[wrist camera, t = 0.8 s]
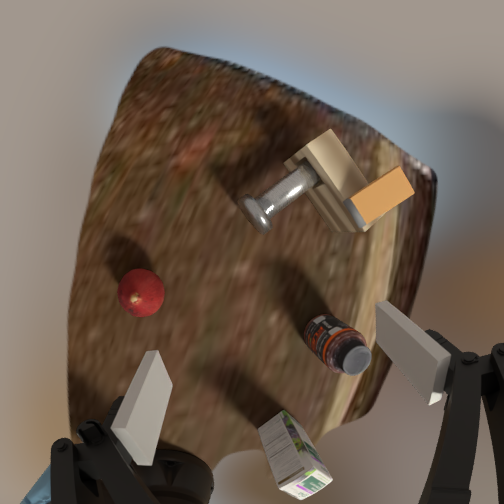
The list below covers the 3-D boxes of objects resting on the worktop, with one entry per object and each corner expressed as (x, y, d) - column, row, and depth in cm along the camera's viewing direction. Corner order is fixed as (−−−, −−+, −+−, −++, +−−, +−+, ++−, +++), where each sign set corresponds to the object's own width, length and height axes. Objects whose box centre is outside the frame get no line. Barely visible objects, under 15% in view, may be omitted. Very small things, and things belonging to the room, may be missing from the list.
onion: (153, 316, 37) (143, 336, 29) (118, 292, 36) (100, 307, 28) (175, 281, 37) (169, 293, 29) (139, 257, 36) (124, 262, 28)
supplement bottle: (303, 314, 41) (338, 340, 30) (339, 311, 42) (381, 333, 31) (301, 352, 41) (333, 386, 30) (336, 347, 42) (375, 377, 31)
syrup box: (302, 425, 42) (336, 479, 28) (275, 444, 42) (301, 502, 27) (283, 408, 41) (315, 466, 27) (255, 429, 41) (277, 490, 26)
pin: (258, 234, 36) (268, 234, 31) (234, 202, 36) (240, 197, 31) (333, 176, 38) (351, 169, 33) (312, 146, 37) (327, 135, 32)
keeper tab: (358, 226, 32) (359, 229, 31) (342, 201, 31) (343, 203, 30) (412, 191, 29) (415, 193, 28) (397, 165, 28) (399, 166, 27)
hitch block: (331, 232, 41) (365, 231, 32) (283, 163, 39) (306, 144, 30) (350, 216, 41) (385, 212, 32) (303, 148, 39) (330, 128, 31)
